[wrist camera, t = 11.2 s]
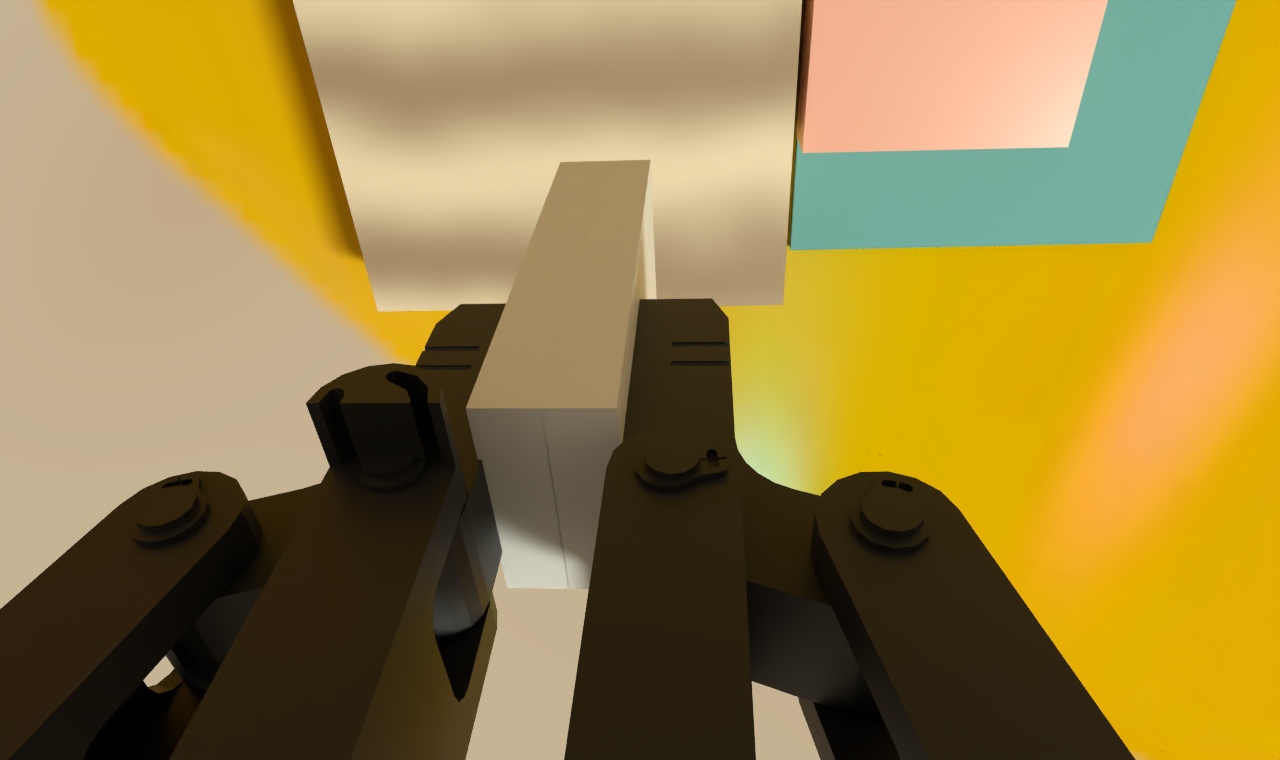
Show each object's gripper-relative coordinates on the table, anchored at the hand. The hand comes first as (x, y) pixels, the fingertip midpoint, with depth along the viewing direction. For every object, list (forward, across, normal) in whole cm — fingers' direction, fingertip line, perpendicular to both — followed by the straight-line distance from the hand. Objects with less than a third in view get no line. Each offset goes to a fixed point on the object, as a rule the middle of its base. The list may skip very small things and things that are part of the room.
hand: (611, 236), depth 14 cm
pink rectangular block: (+17, +10, -1) cm, 20 cm away
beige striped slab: (+17, -3, -1) cm, 18 cm away
